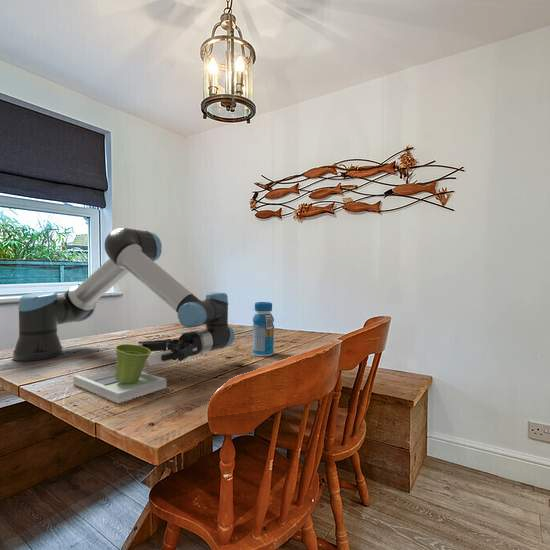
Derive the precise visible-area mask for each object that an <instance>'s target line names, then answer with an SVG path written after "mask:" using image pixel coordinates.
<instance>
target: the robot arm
mask: <svg viewBox="0 0 550 550" xmlns="http://www.w3.org/2000/svg"><path fill="white" fill-rule="evenodd" d="M162 245H163V244H162V241H161V240H160V238H159V236H158V235H157V234H156V233H154V232H151V231H148V230H141V229H133V228H128V227H119V228H115V229H113V230H112V231H110V232H109V233H108V235H106V238H105V240H104V251H105V253H106V255H107V257H108V258H109V259H107V260H106V261H104V263H103V264H101V265H100V267H98V268H97V269H95V271H94V272H93V273H92V274H91V275H89V277H87V278H86V279H85V280H84V281H83V282H82V283H80V284H79V285H73V286H71V287H70V288H69V289H68V290H67V291H66V292H64V293H62V294H58V293H57V292H56V291H42V292H34V293H29V294H24V295H22V296H21V297H20V298H19V300H18V301H19V302H18V308H17V309H18V339H17V342H16V345H15V347H14V350H13V353H12V360H14V361H19V362H20V361H21V362H26V361H27V362H30V361H40V360H41V361H42V360H46V359H47V360H48V359H51V358H56V357H59V356H61V355H63V346H62V344H61V341H60V337H59V335H58V325H63V324H69V323H77V322H79V323H80V322H82V321H85V320H88V319H89V318H90V317H92V316H93V315H94V313H95V311H96V306H97V301H98V300H99V299H100V298H101V297H102V296H104V295H105V293H107V292H108V291H110V289H112V288H113V287H114V286H115V285H116V284H117V283H118V282H119V281H121V280H122V279H123V278H124V277H125V276H126V275H127V274H129V273H130V274H132V275H133V276H134V277H135V278H136V279H138V281H140V282H141V283H142V284H143V285H144V286H146V288H148V289H149V290H150V291H151V292H153V293H154V294H155V295H156V296H157V297H158V298H159V299H161V300H162V301H163V302H164V303H165V304H166V305H168V306H169V307H170V308H171V309H172V310H173V311H175V312H176V313H177V319H178V321H179V323H180V325H182V326H183V327H185V328H189V329H190V328H196V327H201V326H204V325H205V328H202V329H197V330H193V331H188V332H184V333H181V335H180V336H179V339H178V338H174V339H171V338H166V339H159V340H158V339H157V340H147V341H138V344H135V345H139V346H143V347H146V348H148V349H150V350H151V352H154V353H151V354H150V355H149V356H148V365H149V366H154V365H157V364H162V363H166V362H170V361H177V360H178V361H179V362H181V361H184V360H185V359H187V358H189V357H192V356H197V355H201V356H202V355H203V354H204V353H207V352H211V351H215V350H220V349H221V350H222V349H224V348H226V347H229V346H230V345H232V344H233V343H234V341H235V333H234V330H233V328H232V327H231V326H229V322H228V321H229V313H228V312H229V298H228V295H227V293H226V292H208V293H206V294H205V299H204V300H201V299H199V298H198V297H197V296H196V295H194V294H193V293H192V291H190V290H188V288H186V287H185V286H184V285H182V283H180V281H178V280H177V279H176V278H174V277H173V276H172V275H171V274H169V273H168V272H167V271H166V270H165V269H163V268H162V267H161V266H159V264H157V263H156V261H157V260H159V258H160V257H161V254H162V248H163V246H162Z"/></svg>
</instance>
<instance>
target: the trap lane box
mask: <svg viewBox="0 0 550 550" xmlns="http://www.w3.org/2000/svg"><path fill="white" fill-rule="evenodd" d="M115 374H116V369H115V370H110V371H107V372H102V373H98V374H95V375H90V376H87V377H84V376H82V375H78V374H76V375H73V377H72V379H73V381H72V382H73V385H74V384H75V385H74V386H76V385H77V386H76V387H78V386H79V387H78V388H80V387H82V388H81V389H83V388H84V389H83V390H85V389H87V390H89V391H88V392H90V391H91V392H90V393H92V392H93V394H94V393H96V394H95V395H97V394H98V395H97V396H99V395H100V397H101V396H102V397H101V398H104V397H105V399H106V398H107V399H106V400H108V399H109V400H108V401H111V402H114V403H115V402H116V404H118V403H119V404H122V403H125V402H128V401H130V400H134V399H136V397H137V398H140V397H142V396H145V395H149V394H152V393H155V392H158V391H161V390H163V389H164V390H165V389H166V388H167V378H165V377H161V376H157V375H155V374H151V373H148V372H145V371H142V372H141V375H140V377H139V380H138V381H137V382H135V383H124V382H123V381H120V382H119V381H117V380H116V379H115ZM87 390H86V391H87ZM139 396H140V397H139ZM133 398H134V399H133ZM124 401H125V402H124ZM121 402H122V403H121Z"/></svg>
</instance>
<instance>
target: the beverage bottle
mask: <svg viewBox="0 0 550 550" xmlns="http://www.w3.org/2000/svg"><path fill="white" fill-rule="evenodd" d="M254 311H255V314H254V315H253V317H252V322H253V324H252V355H253V356H257V357H269V356H272V355H274V353H275V351H274V343H275V341H274V337H275V336H274V335H275V334H274V333H275V332H274V331H275V324H274V321H275V319H274V316H273V314H272V311H273V303H272V302H270V301H256V302H255V303H254Z"/></svg>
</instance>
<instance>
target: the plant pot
mask: <svg viewBox="0 0 550 550" xmlns="http://www.w3.org/2000/svg"><path fill="white" fill-rule="evenodd" d="M114 348H115V350H116V353H115V355H116V365H115V370H116V374H115V379H116V380H117V381H119V382H120V381H123V382H124V383H135V382H137V381H138V380H139V377H140V375H141V372H143V369H144V367H145V364H146V361H147V360H148V359H149V355H150V354H152V351H151V350H150V349H148V348H146V347H143V346H139V345H136V344H132V343H122V344H117V345H116V346H115V347H114Z"/></svg>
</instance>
